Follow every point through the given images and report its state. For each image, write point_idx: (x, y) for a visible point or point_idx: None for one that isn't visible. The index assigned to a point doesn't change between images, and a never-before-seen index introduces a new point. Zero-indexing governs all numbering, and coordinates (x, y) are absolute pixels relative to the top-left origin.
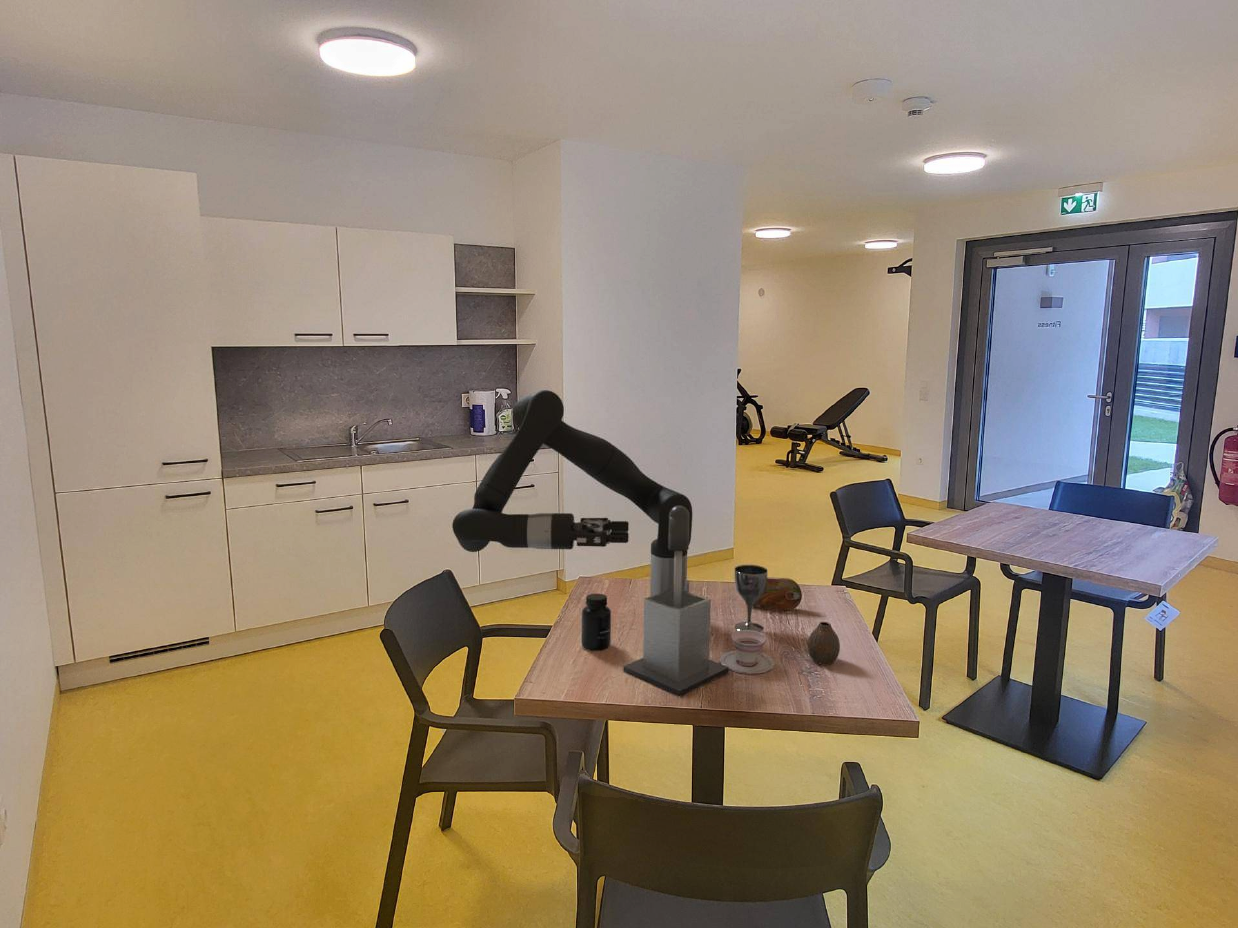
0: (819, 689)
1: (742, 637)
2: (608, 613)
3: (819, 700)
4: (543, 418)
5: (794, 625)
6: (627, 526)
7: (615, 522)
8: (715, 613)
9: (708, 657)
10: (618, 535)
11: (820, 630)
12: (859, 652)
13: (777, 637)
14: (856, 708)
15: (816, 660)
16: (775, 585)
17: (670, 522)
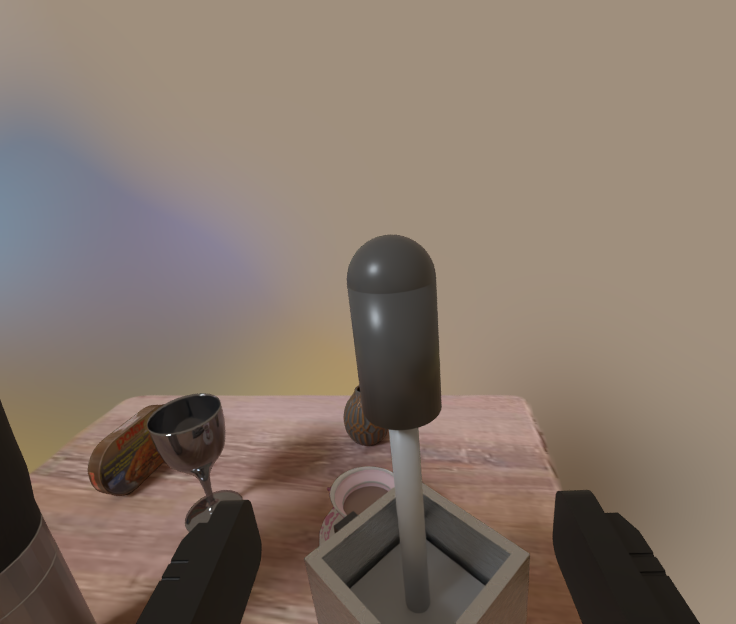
0: (464, 452)
1: (342, 507)
2: None
3: (501, 456)
4: None
5: (235, 450)
6: (251, 526)
7: (204, 601)
8: (109, 565)
9: None
10: (663, 573)
11: None
12: (345, 403)
13: (273, 476)
14: (511, 427)
15: (380, 440)
16: (141, 430)
17: (415, 316)
